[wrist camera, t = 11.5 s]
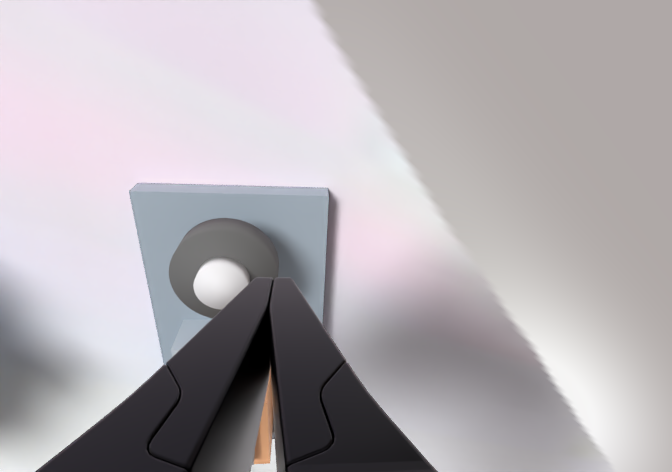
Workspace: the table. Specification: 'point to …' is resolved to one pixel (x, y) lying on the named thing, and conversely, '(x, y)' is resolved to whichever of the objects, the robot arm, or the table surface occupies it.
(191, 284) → the wheel
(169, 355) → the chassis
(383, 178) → the table surface
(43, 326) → the table surface
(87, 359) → the table surface
